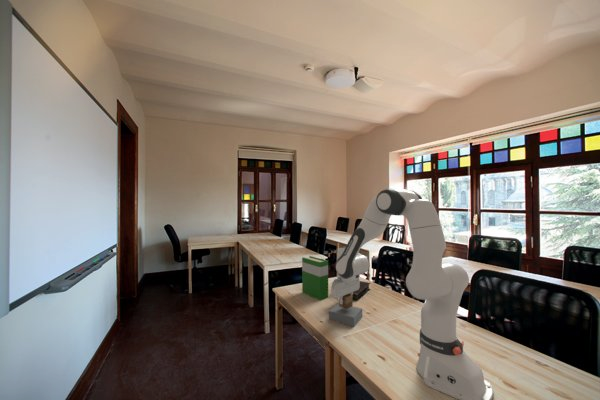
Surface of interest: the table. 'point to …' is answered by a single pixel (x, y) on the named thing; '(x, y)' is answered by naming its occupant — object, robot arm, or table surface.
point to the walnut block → (346, 301)
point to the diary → (361, 291)
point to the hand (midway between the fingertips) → (345, 302)
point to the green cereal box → (315, 277)
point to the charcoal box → (345, 315)
